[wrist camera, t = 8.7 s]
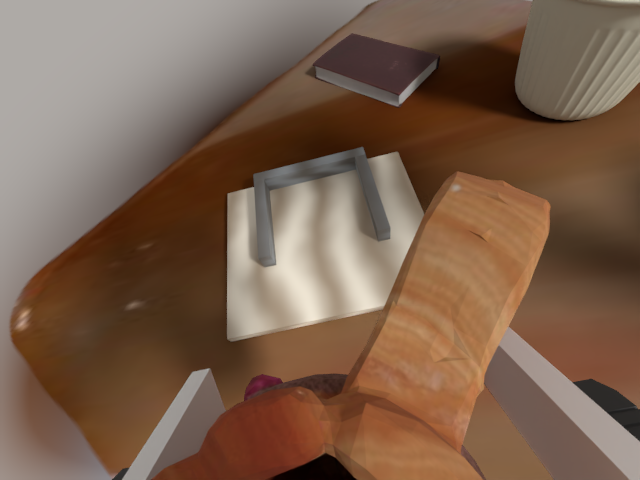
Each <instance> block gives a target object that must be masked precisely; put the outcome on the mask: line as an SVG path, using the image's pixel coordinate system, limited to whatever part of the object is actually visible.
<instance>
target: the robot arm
mask: <svg viewBox="0 0 640 480" xmlns="http://www.w3.org/2000/svg"><path fill="white" fill-rule="evenodd" d="M484 384H485V386H486V387H487V388H488V390H489V391H490V392H491V394H492V395H493V397H494V398H495V399H496V401H497V402H498V403H499V405H500V406H501V408H502V409H503V410H504V412H505V413H506V414H507V416H508V417H509V418H510V420H511V421H512V423H513V424H514V425H515V427H516V428H517V429H518V431H519V432H520V434H521V435H522V436H523V438H524V439H525V440H526V442H527V443H528V445H529V446H530V447H531V449H532V450H533V451H534V453H535V454H536V456H537V457H538V458H539V460H540V461H541V462H542V464H543V465H544V466H545V468H546V469H547V471H548V472H549V473H550V475H551V476H552V477H553V479H554V480H640V409H638V408H637V406H636V405H634V404H633V403H632V402H630V401H629V400H628V399H627V398H625V397H624V396H623V395H621V394H620V393H619V392H617V391H616V390H614V389H612V388H610V387H608V386H606V385H603V384H601V383H599V382H597V381H595V380H593V379H588V380H583V381H578V382H571V381H570V380H569V379H568V378H567V377H565V376H564V375H563V374H562V373H561V372H560V371H559V370H557V369H556V368H555V367H554V366H553V365H552V364H551V363H549V362H548V361H547V360H546V359H545V358H544V357H543V356H541V355H540V354H539V353H538V352H537V351H536V350H535V349H533V348H532V347H531V346H530V345H529V344H528V343H527V342H525V341H524V340H523V339H522V338H521V337H520V336H519V335H517V334H516V333H515V332H514V331H513V330H512V329H511V328H509V327H508V328H507V330H506V332H505V334H504V336H503V338H502V340H501V342H500V344H499V345H498V347H497V349H496V351H495V353H494V355H493V357H492V359H491V361H490V363H489V365H488V367H487V370H486V373H485V375H484ZM224 412H226V410H225V407H224V405H223V402H222V399H221V397H220V394H219V391H218V388H217V386H216V383H215V380H214V377H213V375H212V372H211V369H210V368H209V369H204V370H199V371H194V372H192V373H191V375H190V376H189V378H188V379H187V381H186V382H185V384H184V386H183V387H182V389H181V390H180V392H179V393H178V395H177V396H176V398H175V399H174V401H173V402H172V404H171V405H170V407H169V408H168V410H167V412H166V413H165V415H164V416H163V418H162V419H161V421H160V422H159V424H158V425H157V427H156V428H155V430H154V431H153V433H152V434H151V436H150V437H149V439H148V441H147V442H146V444H145V445H144V447H143V448H142V450H141V451H140V453H139V454H138V456H137V457H136V459H135V460H134V462H133V463H132V465H131V467H130V468H125V469H122V470H121V471H120V472H119V473H118V474H117V475H116V476H115V477H114V478H113V479H112V480H151V479H152V478H153V477H155V476H156V475H157V474H158V473H159V472H160V471H162V470H163V469H164V468H166V467H168V466H170V465H172V464H174V463H177V462H179V461H181V460H183V459H185V458H187V457H189V456H191V455H194V454H196V453H198V451H199V450H200V447H201V445H202V443H203V441H204V439H205V437H206V434H207V432H208V430H209V429H210V427H211V426H212V425H213V424H214V422H215V421H216V420H217V419H218V417H219V416H220V415H221V414H223V413H224Z"/></svg>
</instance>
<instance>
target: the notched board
mask: <svg viewBox="0 0 640 480" xmlns="http://www.w3.org/2000/svg"><path fill="white" fill-rule="evenodd" d="M253 177H254V187H252V188H248V189H244V190H240V191H236V192H232V193H228V218H227V339H228V340H229V341H231V342H232V341H237V340H241V339H246V338H251V337H255V336H260V335H265V334H269V333H274V332H279V331H284V330H288V329H293V328H298V327H302V326H307V325H312V324H316V323H321V322H326V321H330V320H335V319H340V318H344V317H349V316H354V315H358V314H363V313H368V312H373V311H377V310H382V309H383V308H384V306H385V304H386V301H387V299H388V297H389V294H390V292H391V290H392V287H393V285H394V283H395V280H396V278H397V275H398V273H399V271H400V268H401V266H402V263H403V261H404V259H405V256H406V254H407V252H408V250H409V247H410V245H411V243H412V241H413V239H414V236H415V234H416V232H417V230H418V227H419V225H420V223H421V221H422V218H423V216H424V212H423V210H422V208H421V205H420V203H419V201H418V198H417V196H416V194H415V191H414V189H413V187H412V184H411V182H410V179H409V177H408V175H407V172H406V170H405V168H404V165H403V163H402V161H401V158H400V156H399V154H398V152H394V153H390V154H386V155H381V156H377V157H373V158H369V159H367V158H366V155H365V152H364V149H363V147H360V148H356V149H352V150H348V151H344V152H340V153H336V154H332V155H328V156H324V157H320V158H316V159H312V160H308V161H304V162H300V163H296V164H292V165H288V166H284V167H280V168H276V169H272V170H268V171H264V172H260V173H256V174H253Z"/></svg>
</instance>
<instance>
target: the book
mask: <svg viewBox="0 0 640 480" xmlns="http://www.w3.org/2000/svg"><path fill="white" fill-rule="evenodd" d="M439 61H440V56H439V55H437V54H433V53H429V52H425V51H420V50H416V49H413V48H408V47H405V46H401V45H396V44H392V43H388V42H384V41H380V40H377V39H373V38H369V37H365V36H361V35H357V34H353V33H352V34H351V35H349V36H348V37H346V38H345V39H343V40H342V41H341V42H339V43H338V44H337V45H335V46H334V47H333V48H331V49H330V50H329V51H327V52H326V53H325V54H324V55H322V56H321V57H320V58H319V59H318V60H316V61H315V62H314V64H313V66H315V68H316V75H315V78H317V79H319V80H322V81H325V82H327V83H330V84H333V85H336V86H339V87H342V88H345V89H348V90H351V91H354V92H357V93H360V94H363V95H366V96H369V97H372V98H375V99H377V100H380V101H382V102H385V103H387V104H390V105H392V106H395V107H398V108H399V107H400V106H401V104H402V103H403V101H404V100H405V99H406V98H407V97H408V96H409V95H410V94H411V93H412V92H413V91H414V90H415V89H416V88H417V87H418V86H419V85H420V84H421V83H422V82H423V81H424V80H425V79H426V78H427V77H428V76H429V75H430V74H431V73H432V72H433V71H434V70H435V69H438V66H439Z"/></svg>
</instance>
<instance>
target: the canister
mask: <svg viewBox="0 0 640 480" xmlns="http://www.w3.org/2000/svg"><path fill="white" fill-rule="evenodd" d="M639 82H640V0H533V2H532V6H531V10H530V14H529V19H528V23H527V27H526V31H525V35H524V39H523V44H522V48H521V53H520V57H519V62H518V67H517V72H516V78H515V90H516V94H517V96H518V99H519V100H520V101H521V103H522V104H523V105H525V107H526V108H528V109H529V110H530V111H532V112H535V113H536V114H539V115H541V116H542V117H548V118H553V119H556V120H564V121H565V120H571V121H573V120H581V119H587V118H590V117H594V116H597V115H599V114H601V113H604V112H606V111H608V110H609V109H610V108H612V107H614V106H615V105H616V104H618V103H619V102H620V101H621V100H622V99H623V98H624V97H625V96H626V95H627V94H628V93H629V92H630V91H631V90H632V89H633V88H634V87H635V86H636V85H637V84H638V83H639Z"/></svg>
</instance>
